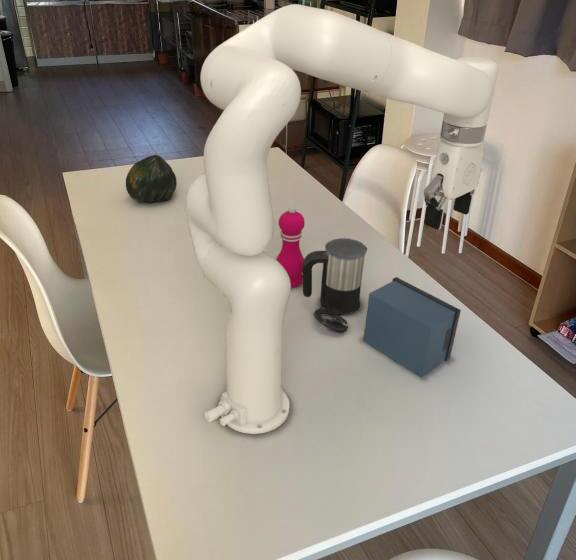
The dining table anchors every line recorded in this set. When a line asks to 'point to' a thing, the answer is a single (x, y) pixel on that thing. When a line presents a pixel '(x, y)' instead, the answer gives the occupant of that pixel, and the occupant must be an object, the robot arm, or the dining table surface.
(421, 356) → the blue storage bin
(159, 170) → the squash
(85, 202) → the dining table surface
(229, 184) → the robot arm
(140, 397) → the dining table surface
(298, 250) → the pepper mill
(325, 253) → the milk frother
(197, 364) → the dining table surface
